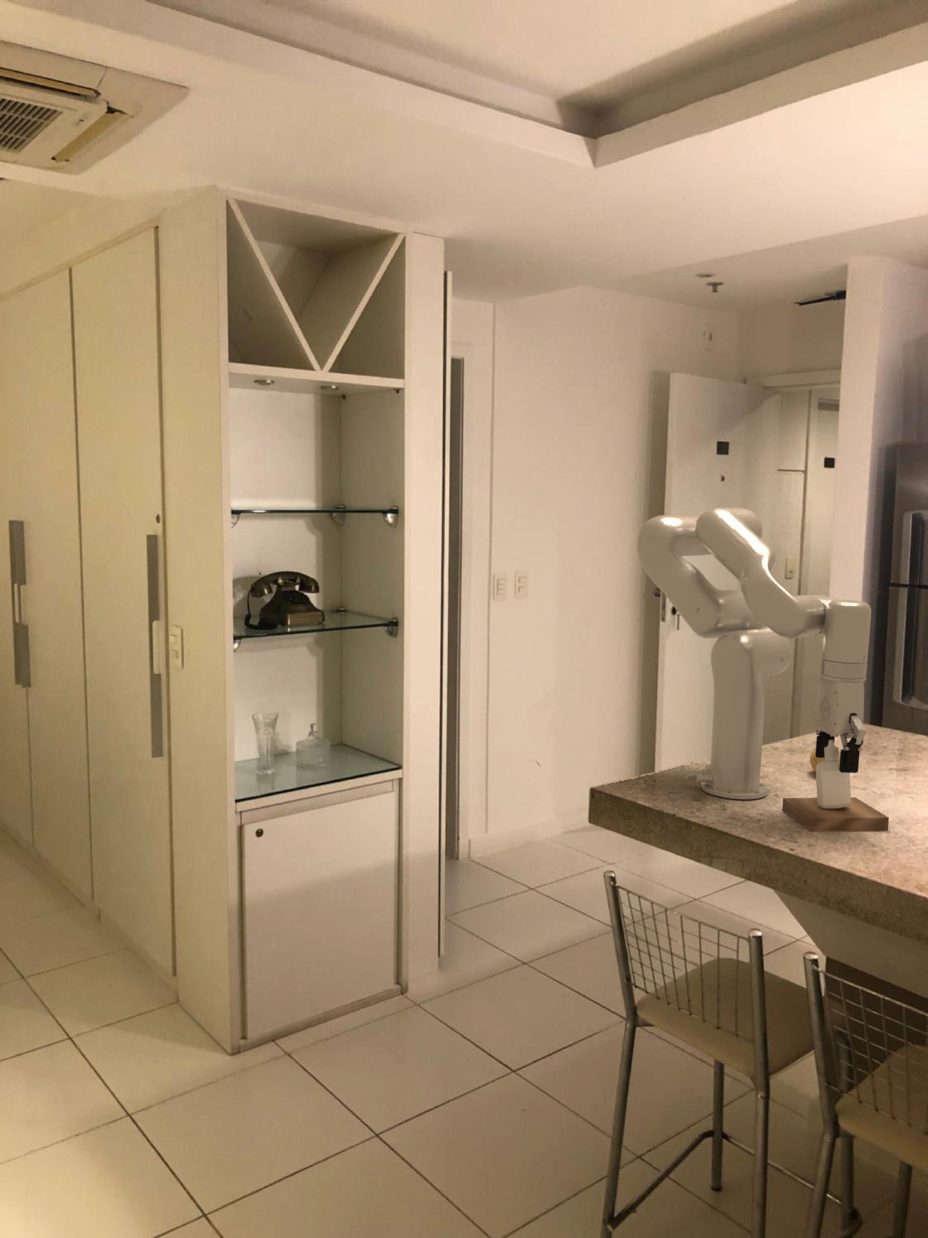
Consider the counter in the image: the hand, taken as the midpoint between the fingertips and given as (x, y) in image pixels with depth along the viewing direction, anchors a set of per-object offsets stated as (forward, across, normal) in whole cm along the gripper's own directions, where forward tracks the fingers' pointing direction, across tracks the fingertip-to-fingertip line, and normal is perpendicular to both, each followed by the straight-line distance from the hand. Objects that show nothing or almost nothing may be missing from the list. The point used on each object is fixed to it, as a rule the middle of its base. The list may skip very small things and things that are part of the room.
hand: (835, 764), depth 182 cm
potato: (+10, -30, +12) cm, 34 cm away
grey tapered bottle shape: (+8, 0, 0) cm, 8 cm away
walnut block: (+11, 0, 0) cm, 11 cm away
